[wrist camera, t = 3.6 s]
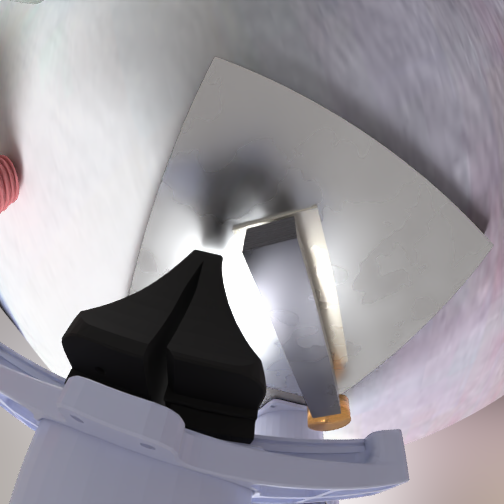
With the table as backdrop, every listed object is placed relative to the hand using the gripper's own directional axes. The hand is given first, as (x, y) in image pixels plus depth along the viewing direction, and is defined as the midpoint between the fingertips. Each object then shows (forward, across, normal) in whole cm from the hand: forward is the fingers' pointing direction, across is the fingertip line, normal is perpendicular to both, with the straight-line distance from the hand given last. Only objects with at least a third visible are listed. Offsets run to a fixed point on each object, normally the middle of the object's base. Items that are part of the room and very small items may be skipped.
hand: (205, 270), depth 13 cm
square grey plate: (+3, -5, +2) cm, 6 cm away
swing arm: (0, -7, +4) cm, 8 cm away
